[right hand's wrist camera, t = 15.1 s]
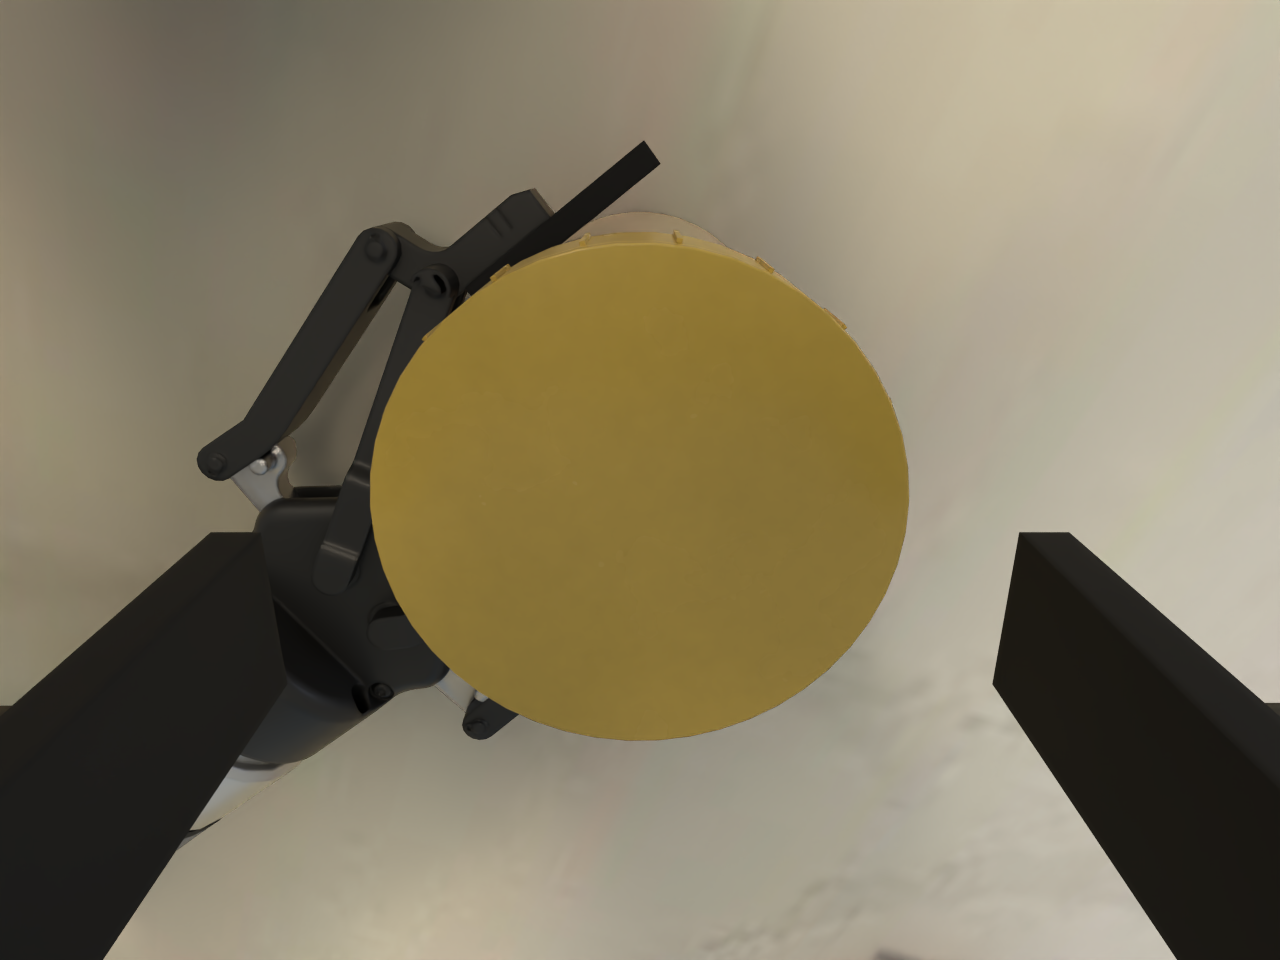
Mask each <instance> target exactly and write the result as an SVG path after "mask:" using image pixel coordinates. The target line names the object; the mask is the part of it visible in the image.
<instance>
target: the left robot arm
mask: <svg viewBox="0 0 1280 960" xmlns="http://www.w3.org/2000/svg"><path fill="white" fill-rule="evenodd" d="M658 165H660V162H659V161H658V159H657V158H656V157H655V155H654V154H653V152H652V151H651V150H650V148H649V147H648V145H647V144H646V142H645V141H643V142H641V143H640V144H639V145H638V146H637V147H635V148H634V149H633V150H632V151H630V152H629V153H628V154H627V155H626V156H624V157H623V158H622V159H621V160H620V161H618V162H617V163H616V164H615V165H613V166H612V167H611V168H610V169H609V170H607V171H606V172H605V173H604V174H603V175H601V176H600V177H599V178H598V179H596V180H595V181H594V182H593V183H592V184H590V185H589V186H588V187H587V188H586V189H584V190H583V191H582V192H581V193H579V194H578V195H577V196H576V197H575V198H573V199H572V200H571V201H570V202H569V203H567V204H566V205H565V206H564V207H562V208H561V209H560V210H559V211H558V212H556V213H555V214H554V212H553V211H552V210H551V209H550V207H549V206H548V205H547V203H546V202H545V201H544V199H543V198H542V197H541V195H540V194H539V193H538V192H537V190H536V189H535V188H533V189H530V190H527V191H523V192H520V193H517V194H513V195H511V196H509V197H508V198H507V199H506V200H505V201H504V202H502V203H501V204H500V205H499V206H498V207H497V208H495V209H494V210H493V211H492V212H490V213H489V214H488V215H487V216H486V217H485V218H483V219H482V220H481V221H480V222H479V223H477V224H476V225H475V226H474V227H473V228H472V229H470V230H469V231H468V232H467V233H466V234H464V235H463V236H462V237H461V238H460V239H458V240H457V241H456V242H455V243H454V244H453V245H451V246H450V247H439V246H435V245H433V244H431V243H429V242H428V241H426V240H425V239H423V238H421V237H420V236H418V235H417V234H415V232H414V231H413V230H412V229H411V228H410V227H409V226H408V225H406V224H404V223H402V222H392V223H388V224H384V225H380V226H376V227H373V228H370V229H367V230H364V231H363V232H362V233H361V234H360V235H359V236H358V237H357V239H356V240H355V242H354V244H353V245H352V247H351V248H350V250H349V252H348V253H347V255H346V256H345V258H344V260H343V261H342V263H341V264H340V266H339V268H338V269H337V271H336V272H335V274H334V276H333V277H332V279H331V280H330V282H329V284H328V285H327V287H326V288H325V290H324V292H323V293H322V295H321V296H320V298H319V300H318V301H317V303H316V304H315V306H314V308H313V309H312V311H311V312H310V314H309V316H308V317H307V319H306V321H305V322H304V324H303V325H302V327H301V329H300V330H299V332H298V333H297V335H296V337H295V338H294V340H293V341H292V343H291V345H290V346H289V348H288V349H287V351H286V353H285V354H284V356H283V357H282V359H281V361H280V362H279V364H278V365H277V367H276V369H275V370H274V372H273V373H272V375H271V377H270V378H269V380H268V381H267V383H266V385H265V386H264V388H263V389H262V391H261V393H260V394H259V396H258V397H257V399H256V401H255V402H254V404H253V406H252V407H251V409H250V410H249V412H248V414H247V415H246V417H245V418H244V420H243V421H241V422H240V423H238V424H237V425H236V426H234V427H233V428H231V429H230V430H228V431H227V432H225V433H224V434H222V435H221V436H219V437H218V438H217V439H215V440H214V441H212V442H211V443H209V444H208V445H206V446H205V447H203V448H202V449H201V451H200V452H199V453H198V457H197V463H198V467H199V469H200V470H201V472H202V473H203V474H204V475H205V476H207V477H208V478H210V479H213V480H215V481H224V480H226V479H229V478H231V479H232V480H233V481H234V483H235V484H236V485H237V486H238V487H239V488H240V490H241V491H242V492H243V493H244V494H245V495H246V496H247V498H248V499H249V500H250V501H251V502H252V503H253V505H254V506H255V507H256V508H257V509H258V510H259V511H260V513H259V515H258V517H257V520H256V523H255V527H254V530H253V532H261V537H262V543H263V549H264V554H265V560H266V565H267V571H268V577H269V582H270V588H271V594H272V599H273V605H274V611H275V616H276V622H277V628H278V633H279V639H280V645H281V650H282V656H283V662H284V667H285V673H286V679H287V686H286V687H285V689H284V690H283V692H282V693H281V695H280V696H279V698H278V699H277V701H276V702H275V704H274V705H273V707H272V708H271V710H270V711H269V713H268V714H267V716H266V717H265V719H264V720H263V722H262V723H261V725H260V726H259V727H258V729H257V730H256V732H255V733H254V735H253V736H252V738H251V739H250V741H249V742H248V744H247V745H246V747H245V748H244V750H243V751H242V753H241V754H240V756H239V757H238V759H237V760H236V762H235V763H234V765H233V766H232V768H231V769H230V771H229V772H228V774H227V775H226V777H225V778H224V780H223V781H222V783H221V784H220V786H219V787H218V789H217V790H216V792H215V793H214V795H213V796H212V798H211V799H210V801H209V802H208V804H207V805H206V807H205V808H204V810H203V811H202V813H201V814H200V816H199V817H198V819H197V820H196V822H195V823H194V825H193V826H192V828H191V829H190V831H189V832H188V833H187V835H186V836H185V838H184V839H183V841H182V842H181V844H180V845H179V847H178V848H177V850H178V849H179V848H180V847H182V846H183V845H185V844H186V843H187V842H189V841H190V840H192V839H193V838H194V837H196V836H197V835H199V834H200V833H201V832H203V831H204V830H206V829H207V828H208V827H210V826H211V825H213V824H214V823H216V822H218V821H219V820H220V819H221V818H222V817H224V816H225V815H227V814H228V813H230V812H231V811H233V810H234V809H236V808H237V807H239V806H240V805H242V804H243V803H245V802H246V801H248V800H249V799H250V798H252V797H253V796H255V795H256V794H258V793H259V792H261V791H262V790H264V789H265V788H267V787H268V786H270V785H271V784H273V783H274V782H275V781H277V780H278V779H280V778H281V777H283V776H284V775H286V774H287V773H288V772H290V771H291V770H292V769H294V768H295V767H297V766H298V765H299V764H300V762H301V761H302V760H304V759H306V758H308V757H310V756H312V755H314V754H315V753H317V752H318V751H320V750H321V749H322V748H324V747H325V746H327V745H328V744H330V743H331V742H332V741H334V740H335V739H337V738H338V737H340V736H341V735H342V734H344V733H345V732H347V731H348V730H350V729H351V728H353V727H354V726H355V725H357V724H358V723H360V722H361V721H363V720H364V719H365V718H367V717H368V716H370V715H371V714H373V713H374V712H375V711H377V710H378V709H379V708H381V707H382V706H383V705H385V704H386V703H387V702H388V701H390V700H391V699H392V698H393V697H395V696H396V695H398V694H400V693H402V692H405V691H408V690H413V689H421V688H427V687H431V686H433V685H434V686H435V687H436V688H437V689H439V690H440V691H441V692H442V693H443V694H445V695H446V696H447V697H448V698H449V699H450V700H452V701H453V702H454V703H455V704H456V705H457V706H459V707H460V708H461V709H462V710H463V711H464V712H465V716H464V719H463V724H462V726H463V730H464V732H465V733H466V734H467V735H468V736H470V737H471V738H473V739H478V740H482V739H487V738H489V737H491V736H492V735H493V734H495V733H496V732H497V731H498V730H500V729H501V728H502V727H504V726H505V725H506V724H507V723H509V722H510V721H511V720H512V719H514V718H515V717H516V716H517V715H519V714H518V713H515V712H513V711H511V710H509V709H507V708H505V707H503V706H501V705H500V704H498V703H496V702H495V701H493V700H492V699H490V698H488V697H487V696H485V695H483V694H482V693H480V692H478V691H477V690H476V689H474V688H473V687H472V686H471V685H469V684H468V683H467V682H465V681H464V680H463V679H462V678H460V677H459V676H458V675H456V674H455V673H454V672H453V671H452V670H451V669H450V668H449V667H448V666H447V665H446V664H445V663H444V662H443V661H442V660H441V659H440V658H439V657H438V656H437V655H436V654H435V653H434V652H433V651H432V650H431V649H430V648H429V647H428V645H427V644H426V643H425V642H424V640H423V639H422V638H421V636H420V635H419V634H418V633H417V631H416V630H415V629H414V628H413V626H412V625H411V623H410V621H409V620H408V618H407V617H406V615H405V613H404V612H403V610H402V608H401V607H400V605H399V603H398V602H397V600H396V598H395V596H394V593H393V591H392V589H391V586H390V584H389V582H388V580H387V577H386V575H385V573H384V570H383V567H382V564H381V560H380V556H379V553H378V549H377V546H376V542H375V539H374V532H373V525H372V517H371V510H370V471H371V465H372V458H373V452H374V445H375V439H376V436H377V433H378V429H379V426H380V423H381V420H382V415H383V412H384V410H385V407H386V405H387V403H388V401H389V398H390V396H391V394H392V392H393V390H394V388H395V386H396V384H397V381H398V379H399V377H400V375H401V374H402V372H403V371H404V369H405V368H406V366H407V365H408V363H409V362H410V360H411V359H412V357H413V356H414V354H415V353H416V351H417V350H418V348H419V347H420V346H421V345H422V343H423V342H424V341H423V340H422V338H423V337H424V336H425V335H426V334H427V333H428V332H430V331H431V330H432V329H433V328H434V327H436V326H437V325H438V324H439V323H440V322H442V321H443V320H444V319H445V318H446V317H447V316H449V315H450V314H451V313H452V312H453V311H455V310H456V309H457V308H458V307H459V306H460V305H462V304H463V303H464V300H465V297H466V294H467V292H468V293H469V294H470V295H471V296H472V295H474V294H475V293H476V292H477V291H478V290H480V289H481V288H482V287H483V286H485V285H486V284H487V283H488V282H489V281H491V279H490V277H491V276H492V275H494V274H495V273H496V272H497V271H499V270H500V269H501V268H503V267H504V266H505V265H507V264H509V265H510V267H512V266H514V265H515V264H517V263H519V262H520V261H522V260H524V259H526V258H529V257H531V256H533V255H535V254H538V253H540V252H542V251H544V250H546V249H549V248H551V247H554V246H557V245H561V244H562V243H564V242H565V241H566V240H567V239H569V238H570V237H571V236H572V235H574V234H575V233H576V232H577V231H578V230H580V229H581V228H582V227H583V226H585V225H586V224H587V223H588V222H590V221H591V220H592V219H593V218H594V217H596V216H597V215H598V214H599V213H601V212H602V211H603V210H604V209H606V208H607V207H608V206H609V205H610V204H612V203H613V202H614V201H615V200H617V199H618V198H619V197H620V196H622V195H623V194H624V193H625V192H626V191H628V190H629V189H630V188H631V187H633V186H634V185H635V184H636V183H638V182H639V181H640V180H641V179H642V178H644V177H645V176H646V175H647V174H649V173H650V172H651V171H652V170H654V169H655V168H656V167H657V166H658ZM397 281H398V282H400V283H401V284H403V285H405V286H406V287H408V288H409V289H411V293H410V296H409V299H408V302H407V305H406V308H405V311H404V314H403V317H402V320H401V323H400V326H399V329H398V331H397V334H396V337H395V340H394V343H393V346H392V349H391V352H390V355H389V358H388V361H387V364H386V367H385V370H384V373H383V376H382V379H381V382H380V385H379V388H378V391H377V394H376V397H375V400H374V403H373V406H372V408H371V411H370V414H369V417H368V420H367V423H366V426H365V429H364V432H363V435H362V438H361V441H360V444H359V447H358V450H357V453H356V456H355V459H354V461H353V463H352V465H351V467H350V469H349V471H348V472H347V475H346V477H345V479H344V482H343V485H341V486H300V487H292V485H291V483H290V482H289V479H288V470H289V467H290V466H291V464H292V463H293V462H294V461H295V459H296V456H297V449H296V442H295V440H294V439H293V438H292V437H291V436H289V434H291V433H292V432H293V431H294V430H296V429H297V428H298V427H299V426H300V425H301V424H302V423H303V422H304V421H305V420H306V419H307V418H308V416H309V415H310V414H311V412H312V411H313V410H314V408H315V407H316V405H317V404H318V402H319V401H320V399H321V397H322V396H323V394H324V393H325V391H326V390H327V388H328V387H329V385H330V384H331V382H332V381H333V379H334V377H335V376H336V374H337V373H338V371H339V370H340V368H341V367H342V365H343V364H344V362H345V361H346V359H347V358H348V356H349V354H350V353H351V351H352V350H353V348H354V347H355V345H356V344H357V342H358V341H359V339H360V338H361V336H362V335H363V333H364V331H365V330H366V328H367V327H368V325H369V324H370V322H371V321H372V319H373V318H374V316H375V315H376V313H377V312H378V310H379V308H380V307H381V305H382V304H383V302H384V301H385V299H386V298H387V296H388V295H389V293H390V292H391V290H392V288H393V287H394V285H395V284H396V282H397Z"/></svg>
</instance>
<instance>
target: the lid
mask: <svg viewBox="0 0 1280 960" xmlns="http://www.w3.org/2000/svg"><path fill="white" fill-rule="evenodd" d="M774 270H775V269H774V268H773V267H771V266H770V265H769V264H768V263H767V262H765V261H764V260H763V259H762V258H760V257H758V256H757V258H756V260H755V259H753V258H751V257H749V256H746V255H744V254H741V253H739V252H737V251H734V250H732V249H730V248H727V247H725V246H722V245H719V244H716V243H712V242H708V241H704V240H701V239H697V238H693V237H689V236H683V235H681V234H680V232H679V231H678V230H673V234H667V233H659V232H617V233H611V234H604V235H597V236H591V234H590V232H589V233H585V234H584V236H583V237H582V238H581V239H578V240H574V241H571V242H567V243H564V244H561V245H557V246H554V247H551V248H549V249H546V250H544V251H542V252H540V253H538V254H535V255H533V256H531V257H529V258H526V259H524V260H522V261H520V262H519V263H517V264H515V265H514V266H512V267H510V265H509V264H507V265H505V266H504V267H503V268H501V269H500V270H499V271H497V272H496V273H495V274H494V275H492V276H491V277H490V279H491V281H489V282H488V283H487V284H486V285H485V286H483V287H482V288H481V289H480V290H478V291H477V292H476V293H475V294H474V295H472V296H471V297H470V298H469V299H468V300H466V301H465V302H464V303H463V304H462V305H460V306H459V307H458V308H457V309H456V310H455V311H453V312H452V313H451V314H450V315H449V316H447V317H446V318H445V319H444V320H443V321H442V322H440V323H439V324H438V325H437V326H436V327H434V328H433V329H432V330H431V331H430V332H428V333H427V334H426V335H425V336H424V337H423V338H422V340H423V341H424V342H423V343H422V345H421V346H420V347H419V348H418V350H417V351H416V353H415V354H414V356H413V357H412V359H411V360H410V362H409V363H408V365H407V366H406V368H405V369H404V371H403V372H402V374H401V375H400V377H399V379H398V381H397V384H396V386H395V388H394V390H393V392H392V394H391V396H390V398H389V401H388V403H387V405H386V407H385V410H384V412H383V415H382V420H381V423H380V426H379V429H378V433H377V436H376V439H375V445H374V452H373V458H372V465H371V471H370V510H371V517H372V525H373V532H374V539H375V542H376V546H377V549H378V553H379V556H380V560H381V564H382V567H383V570H384V573H385V575H386V577H387V580H388V582H389V584H390V586H391V589H392V591H393V593H394V596H395V598H396V600H397V602H398V603H399V605H400V607H401V608H402V610H403V612H404V613H405V615H406V617H407V618H408V620H409V621H410V623H411V625H412V626H413V628H414V629H415V630H416V631H417V633H418V634H419V635H420V636H421V638H422V639H423V640H424V642H425V643H426V644H427V645H428V647H429V648H430V649H431V650H432V651H433V652H434V653H435V654H436V655H437V656H438V657H439V658H440V659H441V660H442V661H443V662H444V663H445V664H446V665H447V666H448V667H449V668H450V669H451V670H452V671H453V672H454V673H455V674H456V675H458V676H459V677H460V678H462V679H463V680H464V681H465V682H467V683H468V684H469V685H471V686H472V687H473V688H474V689H476V690H477V691H478V692H480V693H482V694H483V695H485V696H487V697H488V698H490V699H492V700H493V701H495V702H496V703H498V704H500V705H501V706H503V707H505V708H507V709H509V710H511V711H513V712H515V713H518V714H520V715H522V716H524V717H526V718H529V719H531V720H533V721H535V722H538V723H542V724H545V725H548V726H551V727H554V728H557V729H560V730H563V731H567V732H572V733H576V734H581V735H586V736H591V737H596V738H606V739H616V740H626V741H630V740H664V739H673V738H681V737H689V736H694V735H698V734H703V733H707V732H711V731H716V730H720V729H723V728H726V727H728V726H731V725H734V724H737V723H740V722H743V721H746V720H749V719H751V718H753V717H755V716H757V715H759V714H761V713H763V712H765V711H768V710H770V709H772V708H774V707H776V706H778V705H780V704H781V703H783V702H784V701H786V700H788V699H789V698H791V697H792V696H794V695H795V694H797V693H799V692H800V691H802V690H803V689H805V688H806V687H807V686H809V685H810V684H811V683H812V682H814V681H815V680H816V679H817V678H818V677H820V676H821V675H822V674H823V673H825V672H826V671H827V670H828V669H829V668H830V667H831V666H832V665H833V664H834V663H835V662H836V661H837V660H838V659H839V658H840V657H841V656H842V655H843V654H844V653H845V652H846V651H847V650H848V649H849V648H850V647H851V646H852V644H853V643H854V642H855V640H856V639H857V638H858V636H859V635H860V634H861V632H862V631H863V630H864V628H865V627H866V626H867V624H868V623H869V622H870V620H871V618H872V617H873V615H874V613H875V611H876V610H877V608H878V606H879V604H880V603H881V601H882V599H883V597H884V596H885V594H886V591H887V589H888V586H889V584H890V582H891V579H892V577H893V574H894V572H895V569H896V567H897V564H898V560H899V557H900V553H901V549H902V545H903V541H904V537H905V533H906V524H907V515H908V506H909V480H908V464H907V459H906V453H905V447H904V442H903V436H902V432H901V429H900V426H899V423H898V420H897V417H896V414H895V411H894V408H893V405H892V401H891V399H890V398H889V396H888V394H887V392H886V390H885V388H884V386H883V384H882V382H881V380H880V378H879V376H878V374H877V372H876V371H875V369H874V368H873V366H872V365H871V363H870V362H869V361H868V359H867V358H866V356H865V355H864V353H863V352H862V351H861V349H860V348H859V346H858V345H857V343H856V342H855V341H854V340H853V339H852V338H851V337H850V336H849V335H848V333H847V332H846V331H845V329H846V328H847V326H846V325H845V324H844V323H843V322H841V321H840V320H839V319H838V318H836V317H835V316H834V315H833V314H832V313H830V312H829V311H828V310H827V309H825V308H824V309H822V308H821V307H820V306H819V305H817V304H816V303H815V302H814V301H813V300H811V299H810V298H809V297H808V296H807V295H805V294H804V293H803V292H802V291H800V290H799V289H798V288H797V287H795V286H794V285H793V284H792V283H790V282H789V281H788V280H787V279H785V278H784V277H783V276H782V275H780V274H778V273H777V272H775V271H774Z"/></svg>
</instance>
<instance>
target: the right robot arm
mask: <svg viewBox="0 0 1280 960" xmlns="http://www.w3.org/2000/svg"><path fill="white" fill-rule="evenodd" d="M286 686H287V679H286V673H285V667H284V662H283V656H282V650H281V645H280V639H279V633H278V628H277V622H276V616H275V611H274V605H273V599H272V594H271V588H270V582H269V577H268V571H267V565H266V560H265V554H264V549H263V543H262V537H261V532H211V533H210V534H208V535H207V536H206V537H205V538H204V539H203V540H202V541H200V542H199V543H198V544H197V545H196V546H195V547H194V548H192V549H191V550H190V551H189V552H188V553H187V554H186V555H184V556H183V557H182V558H181V559H180V560H179V561H178V562H176V563H175V564H174V565H173V566H172V567H171V568H170V569H168V570H167V571H166V572H165V573H164V574H163V575H162V576H160V577H159V578H158V579H157V580H156V581H155V582H153V583H152V584H151V585H150V586H149V587H148V588H147V589H145V590H144V591H143V592H142V593H141V594H140V595H139V596H137V597H136V598H135V599H134V600H133V601H132V602H131V603H129V604H128V605H127V606H126V607H125V608H124V609H123V610H121V611H120V612H119V613H118V614H117V615H116V616H115V617H113V618H112V619H111V620H110V621H109V622H108V623H107V624H105V625H104V626H103V627H102V628H101V629H100V630H98V631H97V632H96V633H95V634H94V635H93V636H92V637H90V638H89V639H88V640H87V641H86V642H85V643H84V644H82V645H81V646H80V647H79V648H78V649H77V650H76V651H74V652H73V653H72V654H71V655H70V656H69V657H68V658H66V659H65V660H64V661H63V662H62V663H61V664H60V665H58V666H57V667H56V668H55V669H54V670H53V671H52V672H50V673H49V674H48V675H47V676H46V677H45V678H43V679H42V680H41V681H40V682H39V683H38V684H37V685H35V686H34V687H33V688H32V689H31V690H30V691H29V692H27V693H26V694H25V695H24V696H23V697H22V698H21V699H19V700H18V701H17V702H16V703H15V704H14V705H13V706H0V960H103V959H104V957H105V956H106V954H107V953H108V951H109V950H110V948H111V947H112V945H113V944H114V942H115V941H116V939H117V938H118V937H119V935H120V934H121V932H122V931H123V929H124V928H125V926H126V925H127V923H128V922H129V920H130V919H131V917H132V916H133V914H134V913H135V911H136V910H137V908H138V907H139V905H140V904H141V902H142V901H143V899H144V898H145V896H146V895H147V893H148V892H149V890H150V889H151V887H152V886H153V884H154V883H155V881H156V880H157V878H158V877H159V875H160V874H161V872H162V871H163V869H164V868H165V866H166V865H167V863H168V862H169V860H170V859H171V857H172V856H173V854H174V853H175V851H176V850H177V848H178V847H179V845H180V844H181V842H182V841H183V839H184V838H185V836H186V835H187V833H188V832H189V831H190V829H191V828H192V826H193V825H194V823H195V822H196V820H197V819H198V817H199V816H200V814H201V813H202V811H203V810H204V808H205V807H206V805H207V804H208V802H209V801H210V799H211V798H212V796H213V795H214V793H215V792H216V790H217V789H218V787H219V786H220V784H221V783H222V781H223V780H224V778H225V777H226V775H227V774H228V772H229V771H230V769H231V768H232V766H233V765H234V763H235V762H236V760H237V759H238V757H239V756H240V754H241V753H242V751H243V750H244V748H245V747H246V745H247V744H248V742H249V741H250V739H251V738H252V736H253V735H254V733H255V732H256V730H257V729H258V727H259V726H260V725H261V723H262V722H263V720H264V719H265V717H266V716H267V714H268V713H269V711H270V710H271V708H272V707H273V705H274V704H275V702H276V701H277V699H278V698H279V696H280V695H281V693H282V692H283V690H284V689H285V687H286ZM993 686H994V687H995V689H996V690H997V692H998V693H999V695H1000V696H1001V698H1002V699H1003V701H1004V702H1005V704H1006V705H1007V707H1008V708H1009V710H1010V711H1011V713H1012V714H1013V716H1014V717H1015V719H1016V720H1017V722H1018V723H1019V725H1020V726H1021V727H1022V729H1023V730H1024V732H1025V733H1026V735H1027V736H1028V738H1029V739H1030V741H1031V742H1032V744H1033V745H1034V747H1035V748H1036V750H1037V751H1038V753H1039V754H1040V756H1041V757H1042V759H1043V760H1044V762H1045V763H1046V765H1047V766H1048V768H1049V769H1050V771H1051V772H1052V774H1053V775H1054V777H1055V778H1056V780H1057V781H1058V783H1059V784H1060V786H1061V787H1062V789H1063V790H1064V792H1065V793H1066V795H1067V796H1068V798H1069V799H1070V801H1071V802H1072V804H1073V805H1074V807H1075V808H1076V810H1077V811H1078V813H1079V814H1080V816H1081V817H1082V819H1083V820H1084V822H1085V823H1086V825H1087V826H1088V828H1089V829H1090V831H1091V832H1092V833H1093V835H1094V836H1095V838H1096V839H1097V841H1098V842H1099V844H1100V845H1101V847H1102V848H1103V850H1104V851H1105V853H1106V854H1107V856H1108V857H1109V859H1110V860H1111V862H1112V863H1113V865H1114V866H1115V868H1116V869H1117V871H1118V872H1119V874H1120V875H1121V877H1122V878H1123V880H1124V881H1125V883H1126V884H1127V886H1128V887H1129V889H1130V890H1131V892H1132V893H1133V895H1134V896H1135V898H1136V899H1137V901H1138V902H1139V904H1140V905H1141V907H1142V908H1143V910H1144V911H1145V913H1146V914H1147V916H1148V917H1149V919H1150V920H1151V922H1152V923H1153V925H1154V926H1155V928H1156V929H1157V931H1158V932H1159V934H1160V935H1161V937H1162V938H1163V939H1164V941H1165V942H1166V944H1167V945H1168V947H1169V948H1170V950H1171V951H1172V953H1173V954H1174V956H1175V957H1176V959H1177V960H1280V703H1264V702H1263V701H1262V700H1261V699H1259V698H1258V697H1257V696H1256V695H1255V694H1254V693H1253V692H1251V691H1250V690H1249V689H1248V688H1247V687H1246V686H1245V685H1243V684H1242V683H1241V682H1240V681H1239V680H1238V679H1237V678H1235V677H1234V676H1233V675H1232V674H1231V673H1230V672H1228V671H1227V670H1226V669H1225V668H1224V667H1223V666H1222V665H1220V664H1219V663H1218V662H1217V661H1216V660H1215V659H1214V658H1212V657H1211V656H1210V655H1209V654H1208V653H1207V652H1206V651H1204V650H1203V649H1202V648H1201V647H1200V646H1199V645H1198V644H1196V643H1195V642H1194V641H1193V640H1192V639H1191V638H1190V637H1188V636H1187V635H1186V634H1185V633H1184V632H1183V631H1182V630H1180V629H1179V628H1178V627H1177V626H1176V625H1175V624H1173V623H1172V622H1171V621H1170V620H1169V619H1168V618H1167V617H1165V616H1164V615H1163V614H1162V613H1161V612H1160V611H1159V610H1157V609H1156V608H1155V607H1154V606H1153V605H1152V604H1151V603H1149V602H1148V601H1147V600H1146V599H1145V598H1144V597H1143V596H1141V595H1140V594H1139V593H1138V592H1137V591H1136V590H1135V589H1133V588H1132V587H1131V586H1130V585H1129V584H1128V583H1127V582H1125V581H1124V580H1123V579H1122V578H1121V577H1120V576H1118V575H1117V574H1116V573H1115V572H1114V571H1113V570H1112V569H1110V568H1109V567H1108V566H1107V565H1106V564H1105V563H1104V562H1102V561H1101V560H1100V559H1099V558H1098V557H1097V556H1096V555H1094V554H1093V553H1092V552H1091V551H1090V550H1089V549H1088V548H1086V547H1085V546H1084V545H1083V544H1082V543H1081V542H1080V541H1078V540H1077V539H1076V538H1075V537H1074V536H1073V535H1072V534H1070V533H1069V532H1019V537H1018V543H1017V549H1016V554H1015V560H1014V565H1013V571H1012V577H1011V582H1010V588H1009V594H1008V599H1007V605H1006V611H1005V616H1004V622H1003V628H1002V633H1001V639H1000V645H999V650H998V656H997V662H996V667H995V673H994V679H993Z"/></svg>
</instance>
